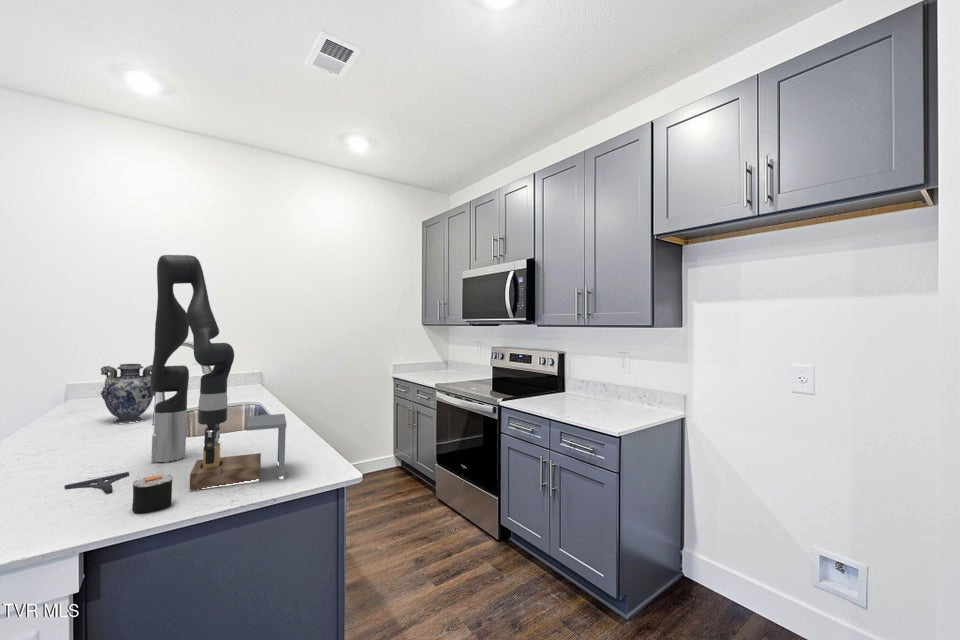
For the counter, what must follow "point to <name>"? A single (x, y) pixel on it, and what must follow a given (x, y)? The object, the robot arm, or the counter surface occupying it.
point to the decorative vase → (127, 391)
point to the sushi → (152, 493)
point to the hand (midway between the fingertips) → (211, 459)
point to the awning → (271, 423)
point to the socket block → (226, 471)
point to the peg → (216, 457)
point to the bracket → (98, 483)
